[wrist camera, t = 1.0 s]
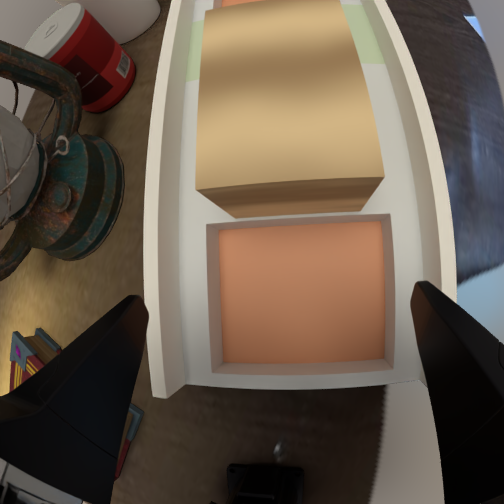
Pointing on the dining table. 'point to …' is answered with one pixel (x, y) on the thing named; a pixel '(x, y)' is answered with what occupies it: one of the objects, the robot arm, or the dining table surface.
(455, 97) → the dining table surface
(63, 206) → the lantern
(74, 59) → the canned food
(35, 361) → the decorative book
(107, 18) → the candle holder
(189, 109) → the tray
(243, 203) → the wooden block
